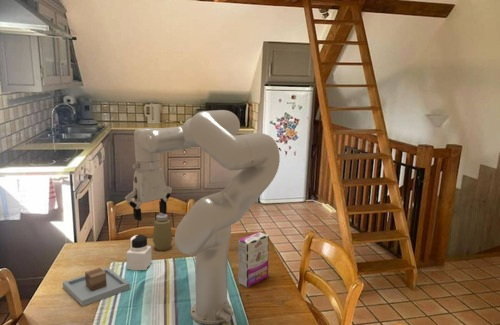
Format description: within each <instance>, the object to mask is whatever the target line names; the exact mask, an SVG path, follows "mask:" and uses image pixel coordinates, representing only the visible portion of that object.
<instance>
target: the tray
mask: <svg viewBox="0 0 500 325" xmlns="http://www.w3.org/2000/svg"><path fill="white" fill-rule="evenodd" d="M102 270H103V271H104V272H106V283H107V286H106V287H104V288H101V289H98V290H95V291H91V290H90V289H89V288H88V287H87V286H86V280H85V274H84V275H81V276H77V277H75V278H71V279H68V280H65V281H62V288H63V289H64V290H65V291H66V292H67V293H68V294H69V295H70V296H71V297H72V298H73V299H74V300H75V301H76V302H77V303H78V304H79V305H80V307H84V306H87V305H90V304H94V303H96V302H99V301H101V300H103V299H107V298H110V297H112V296H115V295H118V294H120V293H123V292H125V291H127V290H130V289H131V287H130V286H131V283H130V282H128V281H127V280H126V279H124V278H123V277H122V276H120V275H118V273H117V272H114V271H113V270H112V269H110V268H109V267H107V268H103V269H102Z"/></svg>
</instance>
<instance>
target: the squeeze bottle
mask: <svg viewBox="0 0 500 325" xmlns="http://www.w3.org/2000/svg"><path fill="white" fill-rule="evenodd" d="M155 218H156V220H154V223H153V232H152V233H153V234H152V242H153V245H154V247H155V250H157V251H167V250H169V249H170V248H171V245H172V242H173V233H172V226H171V220H170V219H169V215H168V214H167V213H166V214H163V213H160V211H159V214H157V215H156V216H155Z"/></svg>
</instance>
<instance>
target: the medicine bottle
mask: <svg viewBox="0 0 500 325" xmlns="http://www.w3.org/2000/svg"><path fill="white" fill-rule="evenodd" d="M129 240H130V242H129V243H130V245H129V246H130V248H129V250H127V251H126V254H125V255H126V270H127V269H133V270H132V271H137V270H148V268H149V267H150V266H151V264H152V263H151V262H153V260H152V258H153V257H152V246H151V245H148V237H147V236H146V235H143V234H135V235H133V236H132V237H131V238H130V239H129ZM150 263H151V264H150ZM149 265H150V266H149ZM148 266H149V267H148ZM147 267H148V268H147Z"/></svg>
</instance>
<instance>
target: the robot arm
mask: <svg viewBox="0 0 500 325" xmlns="http://www.w3.org/2000/svg"><path fill="white" fill-rule="evenodd" d="M240 127H241V123H240V119H239V118H238V116H237V115H236V114H235V113H234V112H232V111H230V110H226V109H218V110H217V109H216V110H203V111H199V112H197V113H195V114H194V115H193V116H192V117H191V118H188V119H187V120H186V121H185V122H183V125H180V126H179V125H178V126H173V127H172V126H170V127H162V128H155V127H139V128H136V129H135V130H134V131H133V132H134V133H133V138H134V140H133V141H134V154H135V155H134V156H135V163H134V164H132V168H133V169H135V171H134V174H133V182H132V183H133V184H132V185H133V187H132V189H133V190H132V191H131V192H129V193H128V194H127V195H125V197H124V199H125V202H127V205H128V206H130V207H131V208H132V211H133V218H134V220H137V221H139V222H141V221H142V208H140V207H141V205H142V204H143V203H149V202H153V201H158V200H159V201H158V203H159V204H158V205H159V212H160V213H163V214H166V215H167V211H168V210H167V209H168V208H167V207H168V206H167V205H168V204H167V203H168V202H169V198H170V197H171V193H172V191H173V188H172V187H171V186H169V185H166V179H165V175H164V171H163V168H161V164H160V154H161V153H169V152H174V151H175V152H176V151H182V150H187V149H191V148H201V149H202V150H203V151H204V152H205V153H206V154H207V155H209V156H210V157H211V158H212V160H214V161H216V162H217V163H218V164H219V165H220V166H221V167H223V168H224V169H227V170H229V171H239V172H238V173H237V174H235V175H234V177H233V178H232V180H231V181H230V182H229V183H228V184H227V186H226V187H225V188H224V189H222V190H221V191H219V192H218V191H217V192H216V193H212V194H210V195H209V194H208V195H206V196H203V197H201V198H200V199H198V200H197V201H196V202H194V203H193V205H191V207H190V208H189V210H188V211H187V213H186V214H185V215H184V216H183V218H182V219H181V220H180V222H179V224H177V226H176V229H175V231H174V244H175V246H176V248H177V250H178V251H179V252H180V253H182V254H183V255H186V256H194V255H195V266H194V267H195V272H194V273H195V278H194V279H195V303H194V304H192V306H191V308H190V317H191V318H192V319H193V320H194V321H195V322H196V323H199V324H203V325H217V324H221V323H224V322H226V323H229V322H231V320H232V316H234V314H235V312H234V311H233V307H232V305H231V304H230V302H229V301H228V265H229V264H228V262H229V261H228V260H229V259H228V258H229V246H230V240H231V235H232V225H235V224H236V223H237V222H239V221H240V220H241V219H242V218H243V217H244V216H245V215H246V213H247V212H248V211H249V209H250V208H252V206H253V205H254V204H255V202H256V201H257V200H258V198H260V196H262V194H263V193H264V192H265V190H267V189H268V188H269V186H270V185H271V183H272V182H273V181H274V179H275V177H276V175H277V173H278V171H279V166H280V162H281V158H280V156H281V154H280V149H279V147H278V144H277V142H276V140H275V139H274V138H273V137H272V136H270V135H269V134H266V133H263V132H262V133H261V132H260V133H259V132H253V133H245V134H238V133H239V132H240V129H241V128H240ZM133 200H134V201H133Z"/></svg>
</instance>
